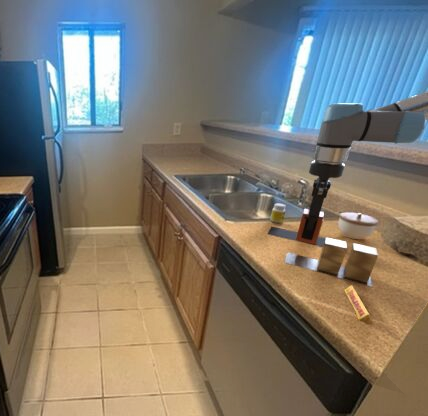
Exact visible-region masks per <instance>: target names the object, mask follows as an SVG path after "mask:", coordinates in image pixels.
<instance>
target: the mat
mask: <svg viewBox="0 0 428 416" xmlns="http://www.w3.org/2000/svg"><path fill="white" fill-rule="evenodd" d="M297 233H298V231H294V230H289V229H285V228H281V227H278V226H277V227H276V226H272V225H271V226H270V228H269V230H268V232H267V235H269V236H273V237H278V238H281V239H282V238H283V239H286V240H290V241H294V242H300V243H303V244H308V245H312V246H317V247H320V248H322V247H323V244H324V241H325V238H326V237H323V236H319V237H318V240H317V243H316V244H311V243H307V242H303V241H299V240H296V237H297Z"/></svg>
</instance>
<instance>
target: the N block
mask: <svg viewBox="0 0 428 416" xmlns="http://www.w3.org/2000/svg"><path fill="white" fill-rule="evenodd" d="M378 257H379V254H378V250H377V248H376V247H374V246H373V247H372V246H367V245H364V244H358V243H355V242H354V243H352V245H351V248H350V251H349V254H348V257H347V259H346V262H345V265H344V267H345V268H344V275H345V277H348V278H352V279H355V280H359V281H363V282H366V283H367V282H368V280H369V277H370V276H371V274H372V272H373V270H374V267H375V265H376V261H377V259H378Z"/></svg>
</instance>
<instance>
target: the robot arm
mask: <svg viewBox="0 0 428 416" xmlns="http://www.w3.org/2000/svg"><path fill="white" fill-rule="evenodd" d="M427 121H428V90H427V91H425V92H421V93H418V94H416V95H412V96H410V97H406V98H404V99H401V100H398V101H395V102H392V103H389V104H387V105H384V106H381V107H377V108H370V109H368V110H364V104H363V103H331V104H329V105H328V106H327V107H326V109H325V112H324V115H323V118H322V120H321V123H320V124H321V125H320V127H319V128H320V129H319V132H318V137H317V141H316V144H315V148H312V149H311V152H312V153H313V156H312V159H313V161H311V162H310V167H309V171H308V173H309V174H310V175H311V176H315V177H318V178H316V179H313V184H312V191H311V196H312V198H311V202H310V204H309V206H308V207H309V208H308V209H309V214H308V216H307V217H304V219H306V222H305V226H304V229H303V233H302V236H301V238H304V239H308V240H312V238H313V235H314V232H315V228H316V225H317V221H318V220H319V214H320V212H323V210H322V207H323V204H324V200H325V198H327V196H328V192H329V190H330V189H331V185H332V181H330V180H329V179H330V178H331V179H338V178H341V177H342V176H343V174H344V173H343V172H344V169H345V167H346V165H345V163H346V162H347V161H348V157H349V154H350V151H351V148H352V144H353V142H371V143H372V142H373V143H389V144H391V143H393V144H409V143H410V144H412V143H413V142H416V141H417V140H418V139H420V138H421V135H422V134H423V133H424V130H425V128H426V125H427Z"/></svg>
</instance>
